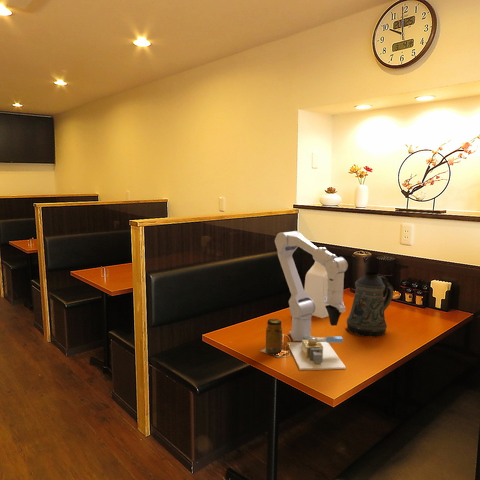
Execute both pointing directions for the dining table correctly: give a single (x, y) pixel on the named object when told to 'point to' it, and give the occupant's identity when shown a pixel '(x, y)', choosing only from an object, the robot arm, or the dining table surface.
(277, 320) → the condiment
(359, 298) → the beer stein
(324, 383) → the dining table surface
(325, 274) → the milk
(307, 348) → the valve
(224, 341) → the dining table surface
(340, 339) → the lever
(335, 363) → the board
